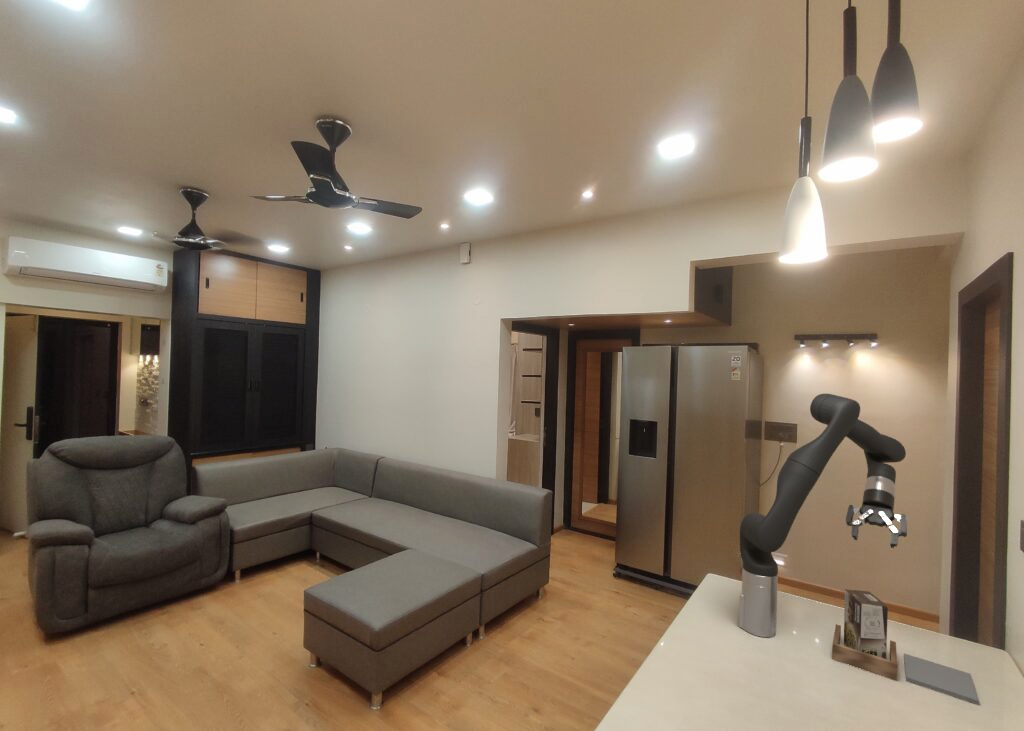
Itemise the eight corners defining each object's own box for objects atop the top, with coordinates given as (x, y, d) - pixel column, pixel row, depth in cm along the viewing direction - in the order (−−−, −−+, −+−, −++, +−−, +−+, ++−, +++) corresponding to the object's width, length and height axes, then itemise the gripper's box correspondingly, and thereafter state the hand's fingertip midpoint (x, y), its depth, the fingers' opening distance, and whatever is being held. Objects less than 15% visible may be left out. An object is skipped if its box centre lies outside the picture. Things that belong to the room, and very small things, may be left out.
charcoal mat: (906, 680, 117) (906, 676, 117) (903, 657, 127) (903, 653, 127) (979, 705, 109) (979, 700, 109) (970, 677, 119) (970, 673, 119)
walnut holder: (831, 659, 125) (832, 644, 125) (835, 638, 136) (835, 624, 136) (897, 681, 117) (897, 665, 117) (895, 656, 127) (895, 642, 127)
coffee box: (887, 669, 122) (889, 606, 122) (859, 665, 123) (861, 603, 123) (868, 649, 131) (870, 590, 131) (842, 645, 132) (844, 587, 132)
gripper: (849, 483, 148) (842, 529, 140) (908, 492, 138) (904, 542, 130) (852, 497, 152) (845, 542, 144) (910, 506, 142) (906, 555, 134)
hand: (873, 542), depth 137 cm, fingers open, 8 cm apart
